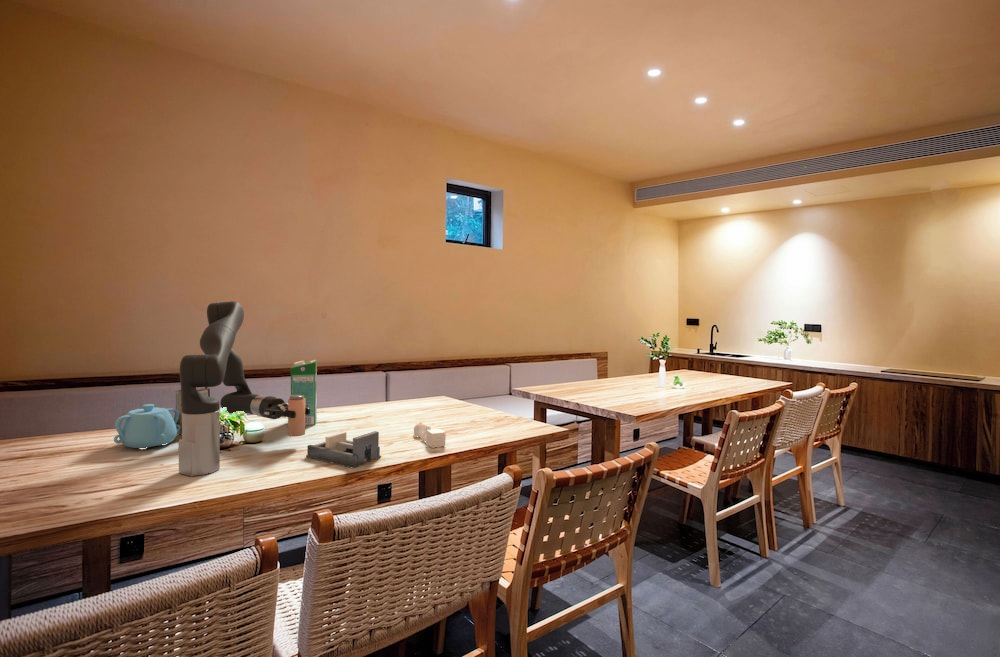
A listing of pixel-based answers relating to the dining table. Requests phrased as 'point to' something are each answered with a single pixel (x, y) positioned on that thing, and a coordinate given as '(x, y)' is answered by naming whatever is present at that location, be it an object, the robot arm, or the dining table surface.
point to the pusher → (338, 442)
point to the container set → (430, 435)
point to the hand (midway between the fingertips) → (302, 413)
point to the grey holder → (349, 451)
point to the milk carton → (306, 386)
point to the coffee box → (179, 405)
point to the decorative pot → (147, 427)
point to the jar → (298, 423)
